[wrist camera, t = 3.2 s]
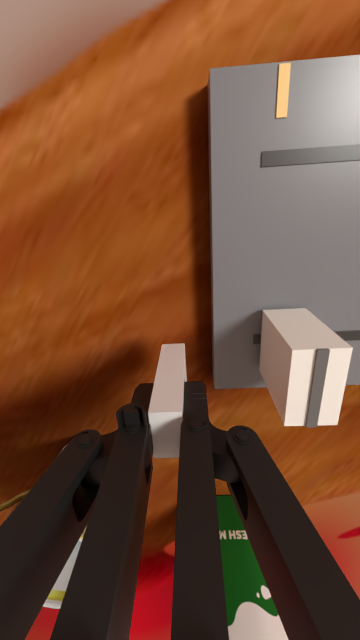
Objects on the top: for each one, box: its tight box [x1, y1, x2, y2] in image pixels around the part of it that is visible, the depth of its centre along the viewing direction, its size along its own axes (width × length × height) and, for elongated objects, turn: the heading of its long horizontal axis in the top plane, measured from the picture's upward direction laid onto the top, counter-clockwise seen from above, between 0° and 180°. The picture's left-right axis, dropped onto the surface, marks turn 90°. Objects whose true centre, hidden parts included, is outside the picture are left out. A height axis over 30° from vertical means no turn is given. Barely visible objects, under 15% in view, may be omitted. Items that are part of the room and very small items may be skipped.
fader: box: [259, 308, 353, 428], centre depth 17 cm, size 3×5×6 cm, turn 3°
